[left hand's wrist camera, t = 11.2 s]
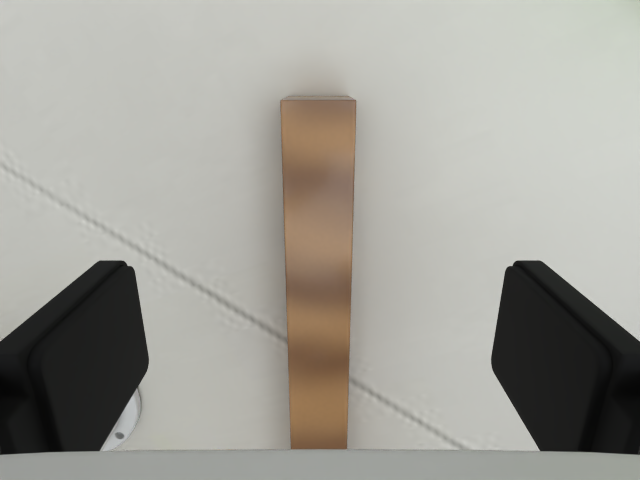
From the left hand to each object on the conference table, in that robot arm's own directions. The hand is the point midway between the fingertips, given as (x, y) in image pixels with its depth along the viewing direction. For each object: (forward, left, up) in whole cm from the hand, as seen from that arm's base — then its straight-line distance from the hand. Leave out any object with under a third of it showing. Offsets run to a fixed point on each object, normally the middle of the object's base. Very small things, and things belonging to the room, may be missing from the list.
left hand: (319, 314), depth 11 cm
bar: (-7, -22, -25) cm, 34 cm away
